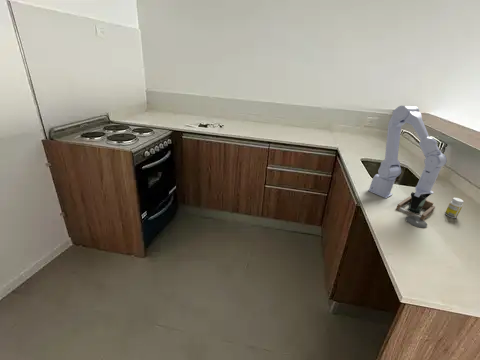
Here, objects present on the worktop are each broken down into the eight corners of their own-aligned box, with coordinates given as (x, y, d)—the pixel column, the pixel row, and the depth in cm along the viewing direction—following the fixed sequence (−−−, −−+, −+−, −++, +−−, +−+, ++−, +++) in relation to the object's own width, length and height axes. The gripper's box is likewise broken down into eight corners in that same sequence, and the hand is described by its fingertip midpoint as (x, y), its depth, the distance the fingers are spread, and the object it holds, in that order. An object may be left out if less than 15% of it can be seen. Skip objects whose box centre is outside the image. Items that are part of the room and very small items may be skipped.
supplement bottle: (451, 213, 130) (459, 197, 127) (459, 218, 126) (467, 202, 122) (442, 212, 130) (449, 196, 126) (449, 217, 125) (457, 201, 122)
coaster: (402, 220, 118) (403, 219, 118) (409, 215, 123) (410, 214, 123) (423, 230, 113) (423, 228, 113) (429, 224, 118) (429, 222, 118)
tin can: (406, 209, 128) (412, 194, 125) (410, 206, 131) (416, 192, 128) (418, 214, 125) (424, 199, 121) (421, 211, 128) (428, 196, 125)
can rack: (395, 208, 128) (398, 201, 126) (407, 200, 137) (410, 193, 135) (422, 220, 120) (426, 212, 118) (433, 211, 130) (436, 203, 128)
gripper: (432, 187, 114) (419, 215, 120) (442, 180, 123) (430, 206, 129) (414, 180, 119) (403, 207, 124) (425, 174, 128) (414, 199, 134)
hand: (415, 206), depth 127 cm, fingers open, 6 cm apart
